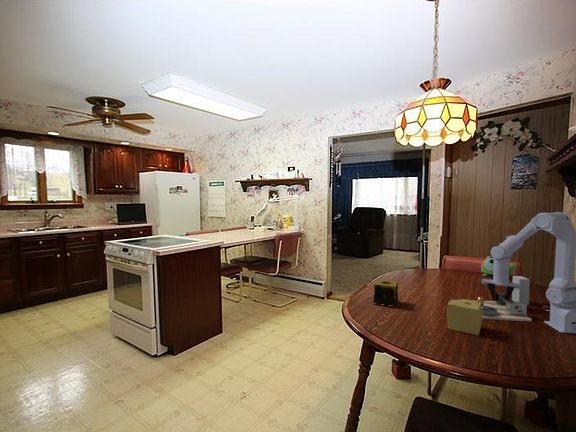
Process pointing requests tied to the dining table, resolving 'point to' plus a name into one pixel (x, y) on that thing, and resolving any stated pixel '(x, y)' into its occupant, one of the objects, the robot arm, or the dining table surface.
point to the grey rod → (501, 298)
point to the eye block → (511, 308)
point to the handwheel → (487, 309)
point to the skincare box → (524, 292)
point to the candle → (385, 292)
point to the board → (503, 313)
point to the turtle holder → (488, 266)
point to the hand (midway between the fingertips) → (500, 301)
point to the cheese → (464, 316)
